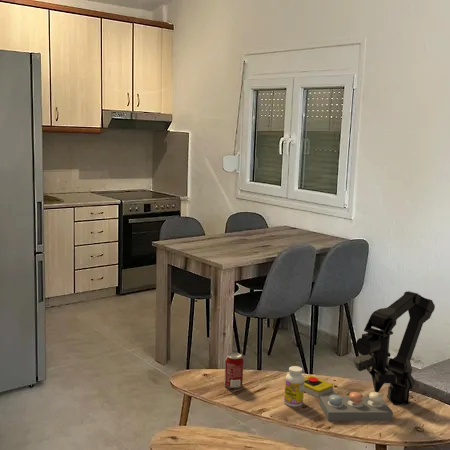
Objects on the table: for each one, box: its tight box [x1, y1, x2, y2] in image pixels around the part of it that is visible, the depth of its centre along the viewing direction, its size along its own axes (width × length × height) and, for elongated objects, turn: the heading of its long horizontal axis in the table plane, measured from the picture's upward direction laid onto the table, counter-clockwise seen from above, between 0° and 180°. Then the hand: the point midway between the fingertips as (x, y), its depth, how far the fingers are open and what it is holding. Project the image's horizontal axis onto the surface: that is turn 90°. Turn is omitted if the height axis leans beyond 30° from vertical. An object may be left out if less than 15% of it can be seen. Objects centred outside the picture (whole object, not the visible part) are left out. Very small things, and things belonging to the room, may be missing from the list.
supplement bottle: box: [283, 365, 305, 408], centre depth 205 cm, size 7×7×13 cm
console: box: [318, 395, 394, 422], centre depth 200 cm, size 22×12×3 cm, turn 95°
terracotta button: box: [348, 391, 364, 403], centre depth 200 cm, size 4×4×2 cm
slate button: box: [329, 394, 343, 405], centre depth 199 cm, size 4×4×2 cm
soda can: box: [223, 352, 244, 390], centre depth 217 cm, size 7×7×12 cm
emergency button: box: [304, 375, 339, 400], centre depth 217 cm, size 9×4×15 cm
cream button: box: [369, 391, 384, 403], centre depth 200 cm, size 4×4×2 cm
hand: (376, 391), depth 200 cm, fingers closed
